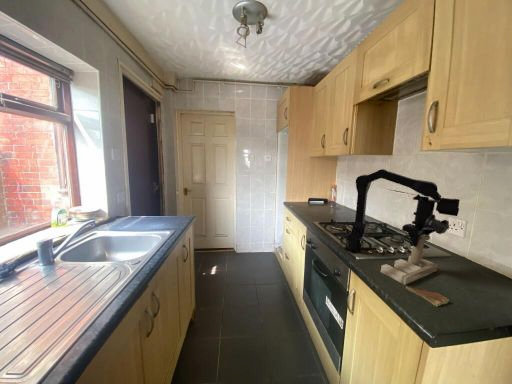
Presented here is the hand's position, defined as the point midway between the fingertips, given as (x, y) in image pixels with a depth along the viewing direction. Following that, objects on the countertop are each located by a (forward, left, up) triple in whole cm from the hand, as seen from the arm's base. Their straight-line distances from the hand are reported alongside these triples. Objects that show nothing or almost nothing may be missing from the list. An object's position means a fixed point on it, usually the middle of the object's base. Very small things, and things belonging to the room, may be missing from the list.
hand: (418, 245), depth 95 cm
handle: (0, 0, -10) cm, 10 cm away
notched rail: (+1, -5, -11) cm, 12 cm away
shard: (+14, -19, -12) cm, 26 cm away
